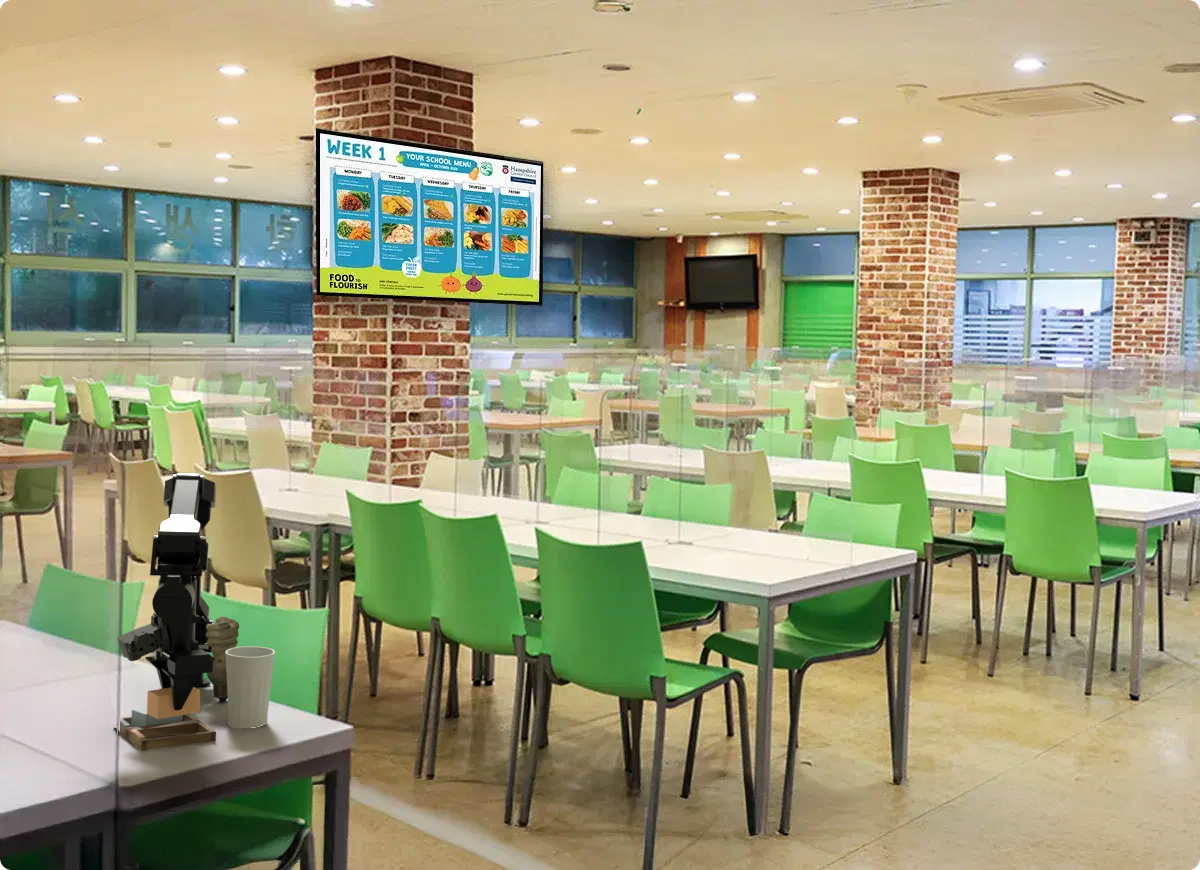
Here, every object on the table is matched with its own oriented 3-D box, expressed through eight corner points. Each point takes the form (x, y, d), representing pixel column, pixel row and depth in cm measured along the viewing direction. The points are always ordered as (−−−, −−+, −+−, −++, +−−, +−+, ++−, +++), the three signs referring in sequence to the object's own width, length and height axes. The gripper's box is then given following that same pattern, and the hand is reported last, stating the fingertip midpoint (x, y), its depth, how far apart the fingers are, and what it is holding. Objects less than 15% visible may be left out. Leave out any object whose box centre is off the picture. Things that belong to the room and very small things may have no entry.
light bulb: (219, 707, 231) (222, 621, 230) (196, 701, 234) (199, 616, 233) (243, 701, 236) (246, 616, 235) (220, 695, 239) (223, 611, 238)
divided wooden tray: (113, 727, 216) (114, 716, 216) (185, 719, 223) (185, 708, 223) (141, 750, 205) (142, 739, 205) (215, 741, 212) (216, 729, 212)
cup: (259, 732, 218) (262, 659, 217) (213, 726, 220) (216, 654, 219) (280, 719, 226) (283, 649, 225) (236, 714, 228) (239, 644, 227)
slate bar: (131, 731, 215) (131, 709, 215) (168, 723, 221) (169, 702, 221) (144, 736, 213) (145, 714, 213) (181, 728, 219) (182, 706, 218)
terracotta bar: (146, 713, 210) (147, 691, 210) (188, 707, 215) (189, 684, 215) (157, 719, 207) (158, 696, 207) (199, 712, 212) (200, 689, 212)
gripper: (105, 600, 213) (102, 698, 214) (144, 624, 198) (140, 728, 199) (175, 596, 219) (172, 690, 220) (218, 618, 204) (214, 719, 205)
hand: (173, 706), depth 211 cm, fingers closed on terracotta bar, 4 cm apart
